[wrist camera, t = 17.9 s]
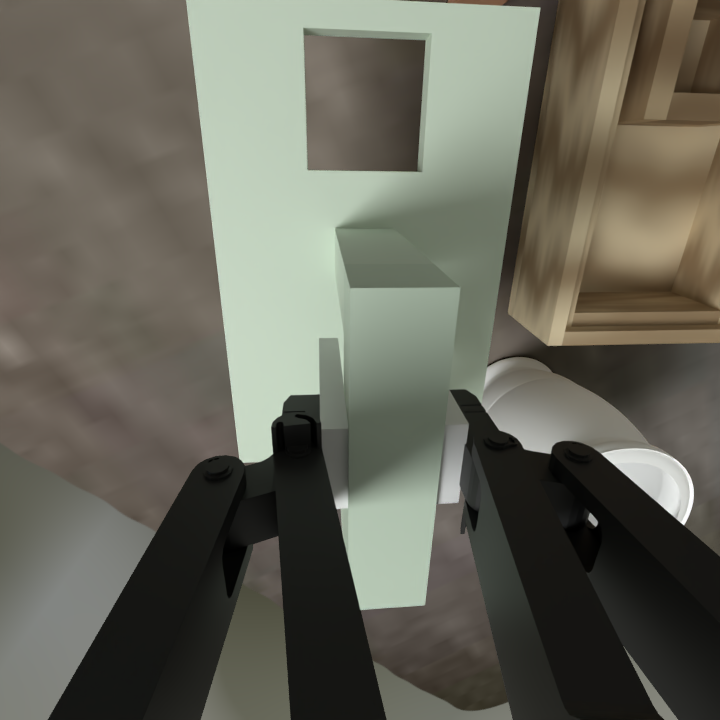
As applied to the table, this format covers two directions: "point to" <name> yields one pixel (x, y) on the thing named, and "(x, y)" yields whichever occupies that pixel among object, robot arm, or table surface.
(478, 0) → the key peg
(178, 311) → the table surface
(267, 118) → the lid
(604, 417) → the jar
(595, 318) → the wooden box
